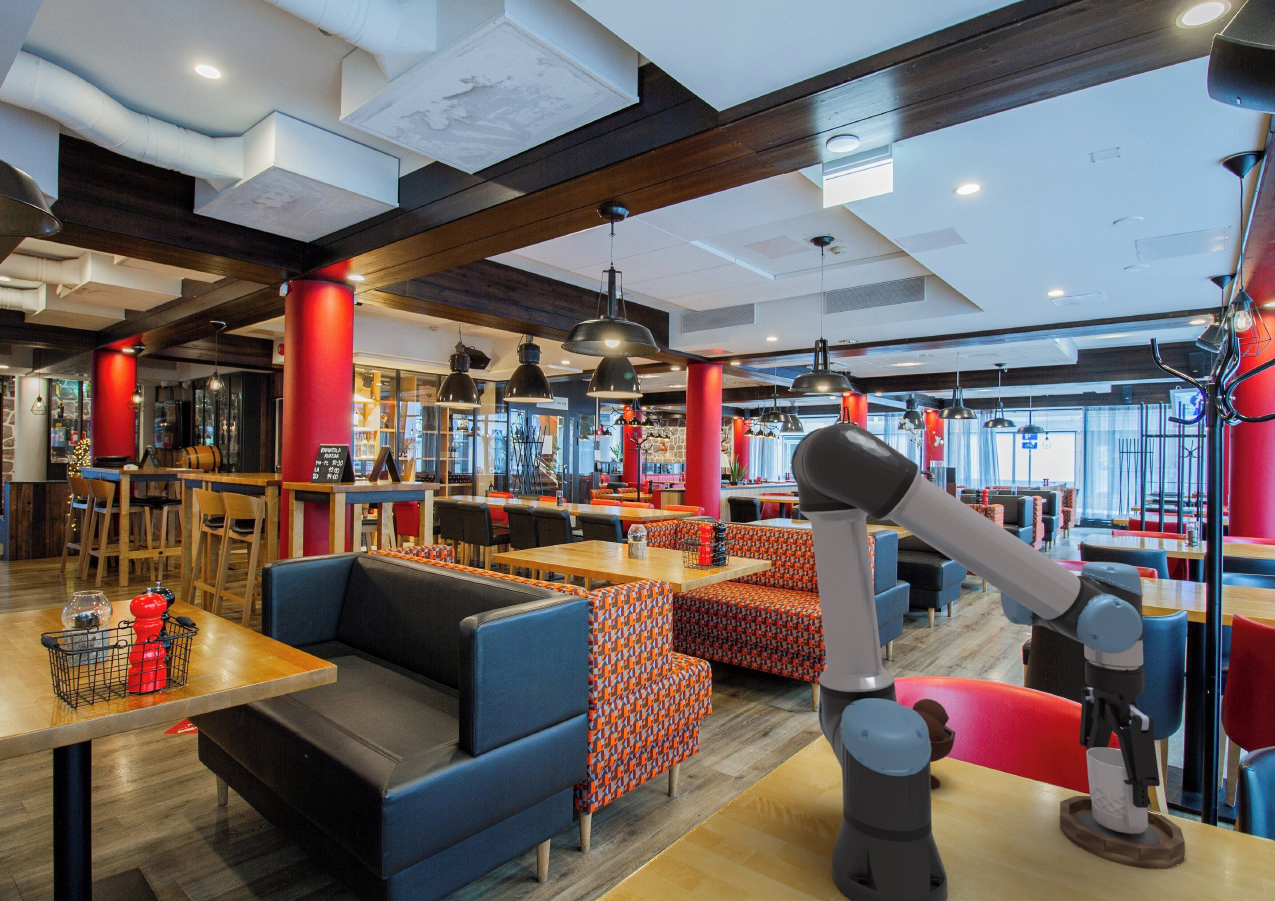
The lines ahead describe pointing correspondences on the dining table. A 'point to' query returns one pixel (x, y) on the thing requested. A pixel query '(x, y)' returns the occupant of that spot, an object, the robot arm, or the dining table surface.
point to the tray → (1123, 837)
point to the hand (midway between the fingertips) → (1118, 811)
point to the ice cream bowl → (936, 731)
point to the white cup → (1108, 788)
